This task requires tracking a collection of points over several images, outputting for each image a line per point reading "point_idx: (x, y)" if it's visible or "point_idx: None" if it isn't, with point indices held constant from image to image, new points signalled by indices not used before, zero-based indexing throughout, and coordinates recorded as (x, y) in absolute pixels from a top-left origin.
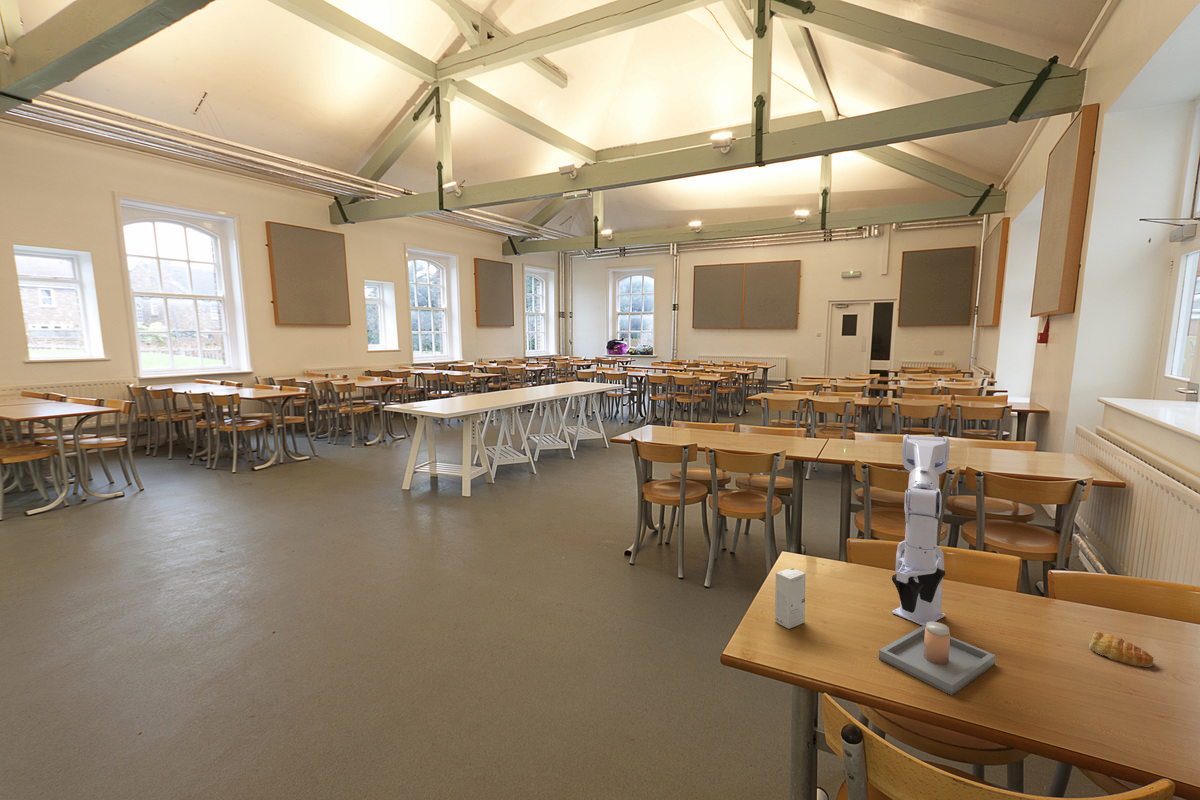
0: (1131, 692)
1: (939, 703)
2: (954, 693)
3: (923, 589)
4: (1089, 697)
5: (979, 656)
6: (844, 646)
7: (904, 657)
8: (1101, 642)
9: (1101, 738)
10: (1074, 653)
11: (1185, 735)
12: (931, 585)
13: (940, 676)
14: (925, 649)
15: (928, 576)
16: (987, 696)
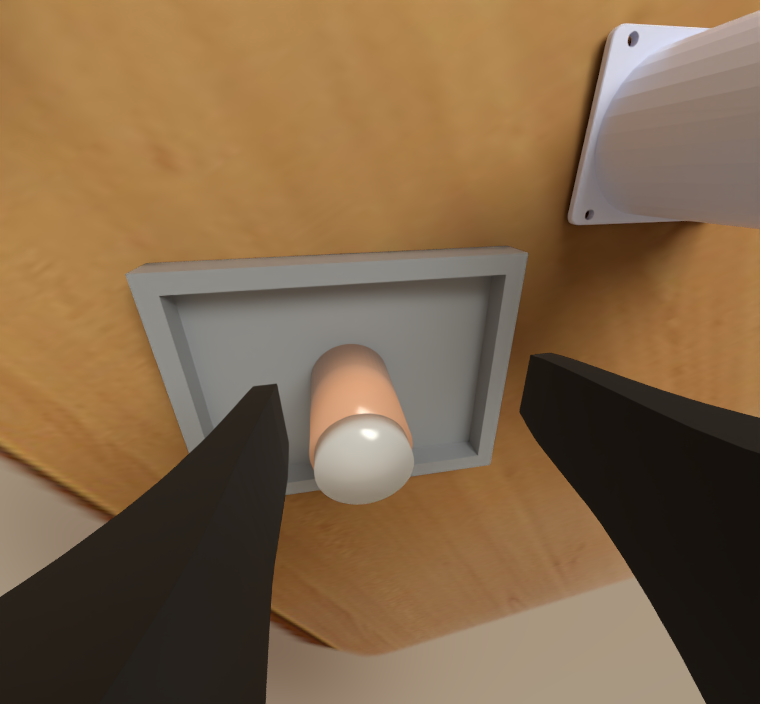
0: (561, 563)
1: (146, 487)
2: None
3: (589, 419)
4: (488, 555)
5: (472, 427)
6: (37, 82)
7: (247, 324)
8: None
9: (364, 608)
10: None
11: (480, 622)
12: (623, 521)
13: None
14: (316, 379)
15: (727, 592)
16: (306, 505)
